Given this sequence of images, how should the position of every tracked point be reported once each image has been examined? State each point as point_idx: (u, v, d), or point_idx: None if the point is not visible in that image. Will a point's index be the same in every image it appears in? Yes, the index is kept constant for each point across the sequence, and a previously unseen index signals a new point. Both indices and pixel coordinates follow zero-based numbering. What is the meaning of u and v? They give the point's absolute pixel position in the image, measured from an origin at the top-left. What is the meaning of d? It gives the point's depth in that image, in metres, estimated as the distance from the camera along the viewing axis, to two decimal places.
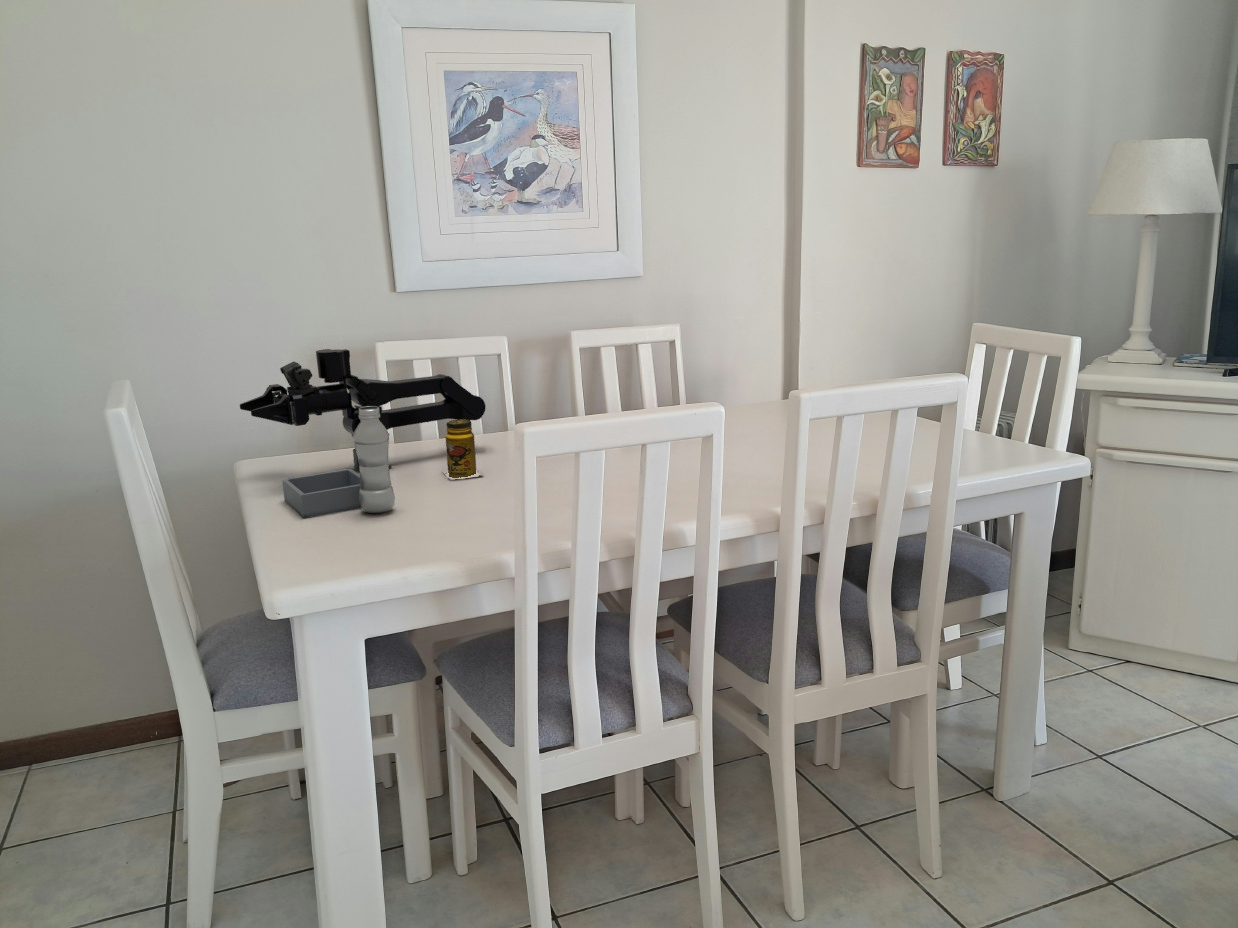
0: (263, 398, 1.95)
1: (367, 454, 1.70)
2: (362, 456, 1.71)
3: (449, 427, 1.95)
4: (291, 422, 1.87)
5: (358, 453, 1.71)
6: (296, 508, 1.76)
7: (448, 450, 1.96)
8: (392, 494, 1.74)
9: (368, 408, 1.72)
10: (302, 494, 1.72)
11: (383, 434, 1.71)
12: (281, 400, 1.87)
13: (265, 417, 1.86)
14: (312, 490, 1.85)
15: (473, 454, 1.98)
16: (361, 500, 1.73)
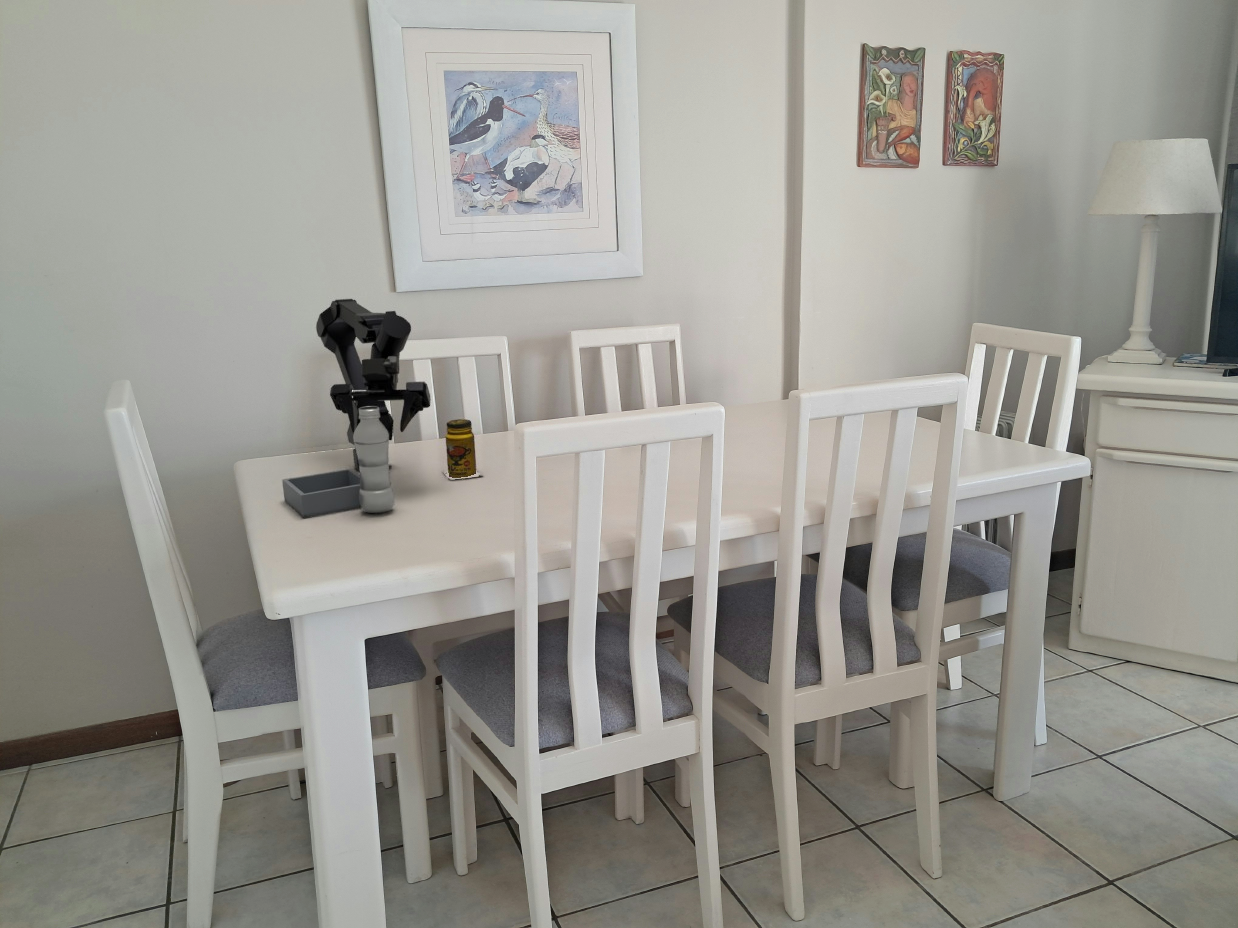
0: (353, 408, 1.81)
1: (367, 454, 1.70)
2: (362, 456, 1.71)
3: (449, 427, 1.95)
4: None
5: (358, 453, 1.71)
6: (296, 508, 1.76)
7: (448, 450, 1.96)
8: (392, 494, 1.74)
9: (368, 408, 1.72)
10: (302, 494, 1.72)
11: (383, 434, 1.71)
12: (408, 400, 1.81)
13: (407, 423, 1.82)
14: (312, 490, 1.85)
15: (473, 454, 1.98)
16: (361, 500, 1.73)
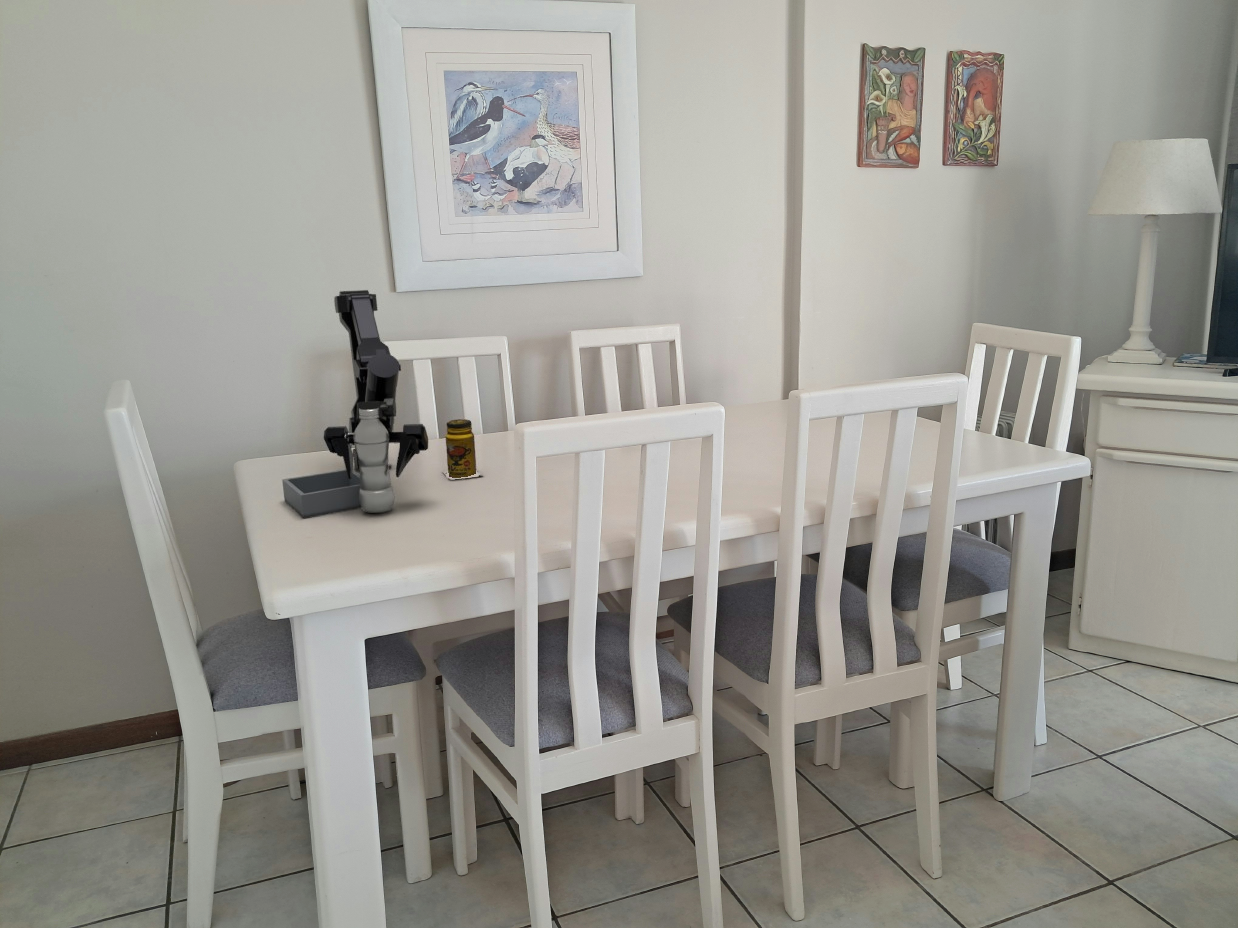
0: (349, 451, 1.74)
1: (367, 454, 1.70)
2: (362, 456, 1.71)
3: (449, 427, 1.95)
4: (419, 451, 1.78)
5: (358, 453, 1.71)
6: (296, 508, 1.76)
7: (448, 450, 1.96)
8: (392, 494, 1.74)
9: None
10: (302, 494, 1.72)
11: (383, 434, 1.71)
12: (404, 444, 1.74)
13: (403, 467, 1.75)
14: (312, 490, 1.85)
15: (473, 454, 1.98)
16: (361, 500, 1.73)
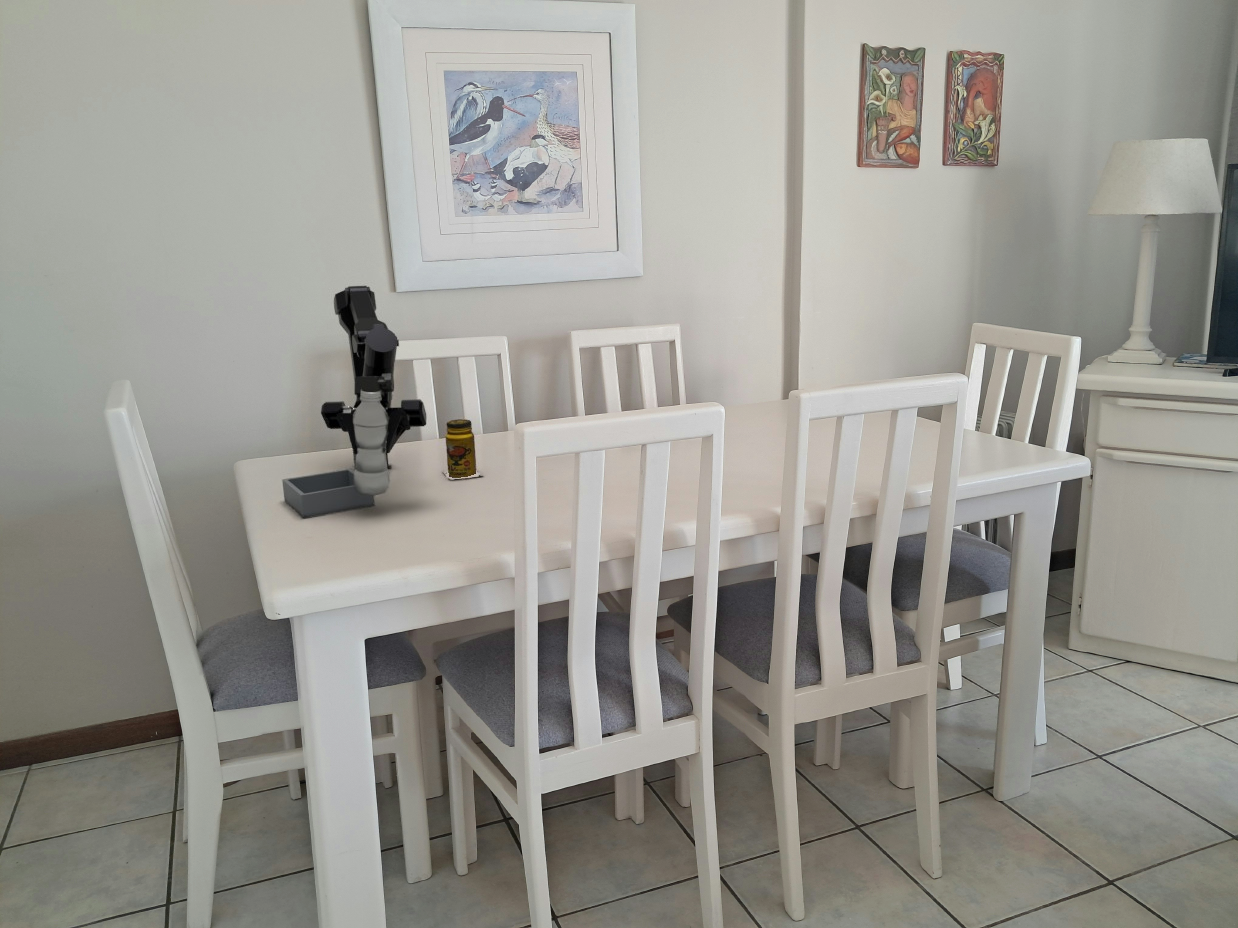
0: None
1: (366, 436, 1.69)
2: (361, 438, 1.69)
3: (449, 427, 1.95)
4: (410, 427, 1.77)
5: (357, 435, 1.70)
6: (296, 508, 1.76)
7: (448, 450, 1.96)
8: (387, 477, 1.74)
9: None
10: (302, 494, 1.72)
11: (384, 418, 1.69)
12: (395, 419, 1.73)
13: (394, 443, 1.74)
14: (312, 490, 1.85)
15: (473, 454, 1.98)
16: (356, 481, 1.72)
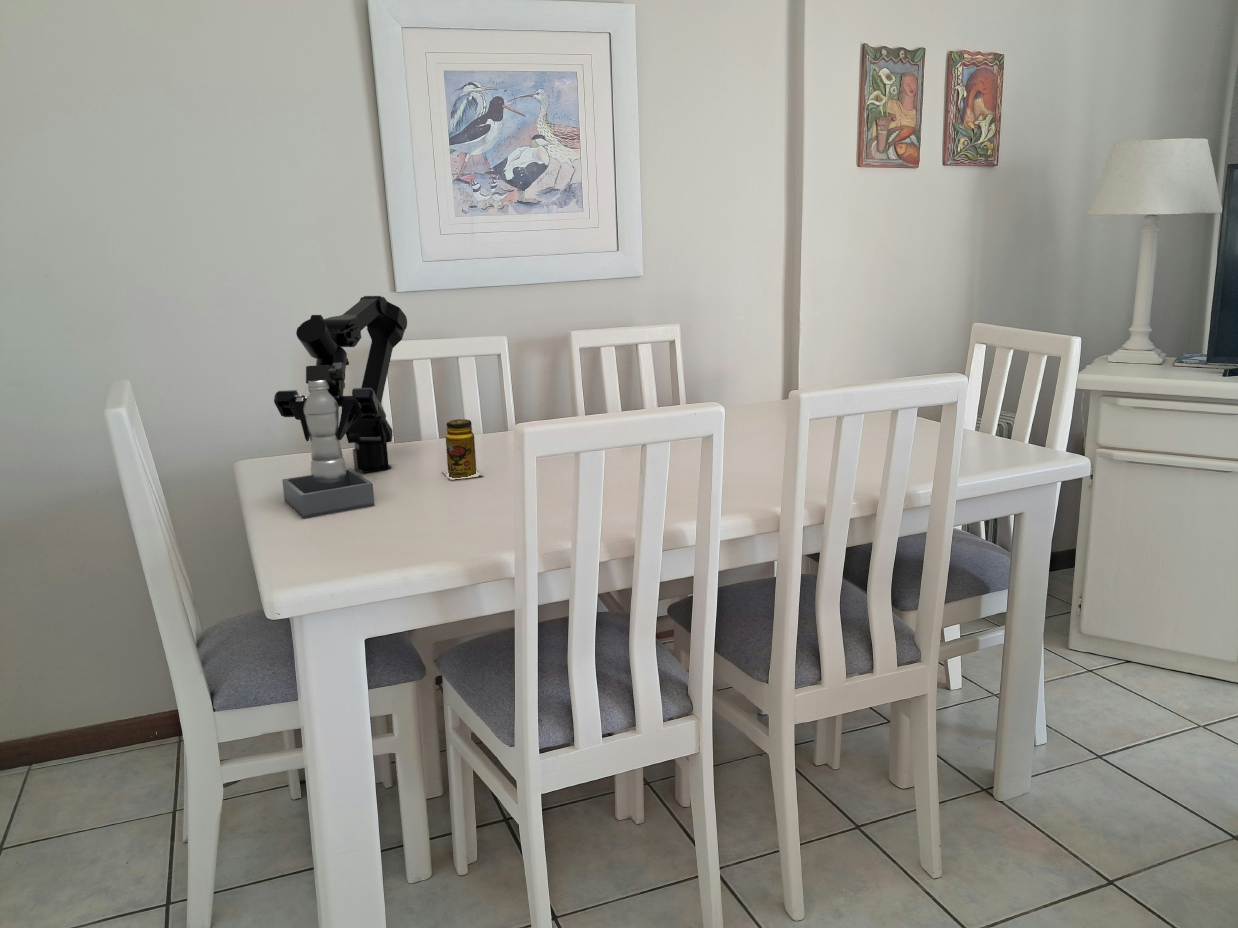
0: None
1: (318, 424, 1.74)
2: (313, 427, 1.75)
3: (449, 427, 1.95)
4: (362, 415, 1.83)
5: (309, 424, 1.75)
6: (296, 508, 1.76)
7: (448, 450, 1.96)
8: (344, 464, 1.78)
9: None
10: (302, 494, 1.72)
11: (333, 405, 1.75)
12: (347, 407, 1.78)
13: (346, 431, 1.79)
14: (312, 490, 1.85)
15: (473, 454, 1.98)
16: (313, 471, 1.76)
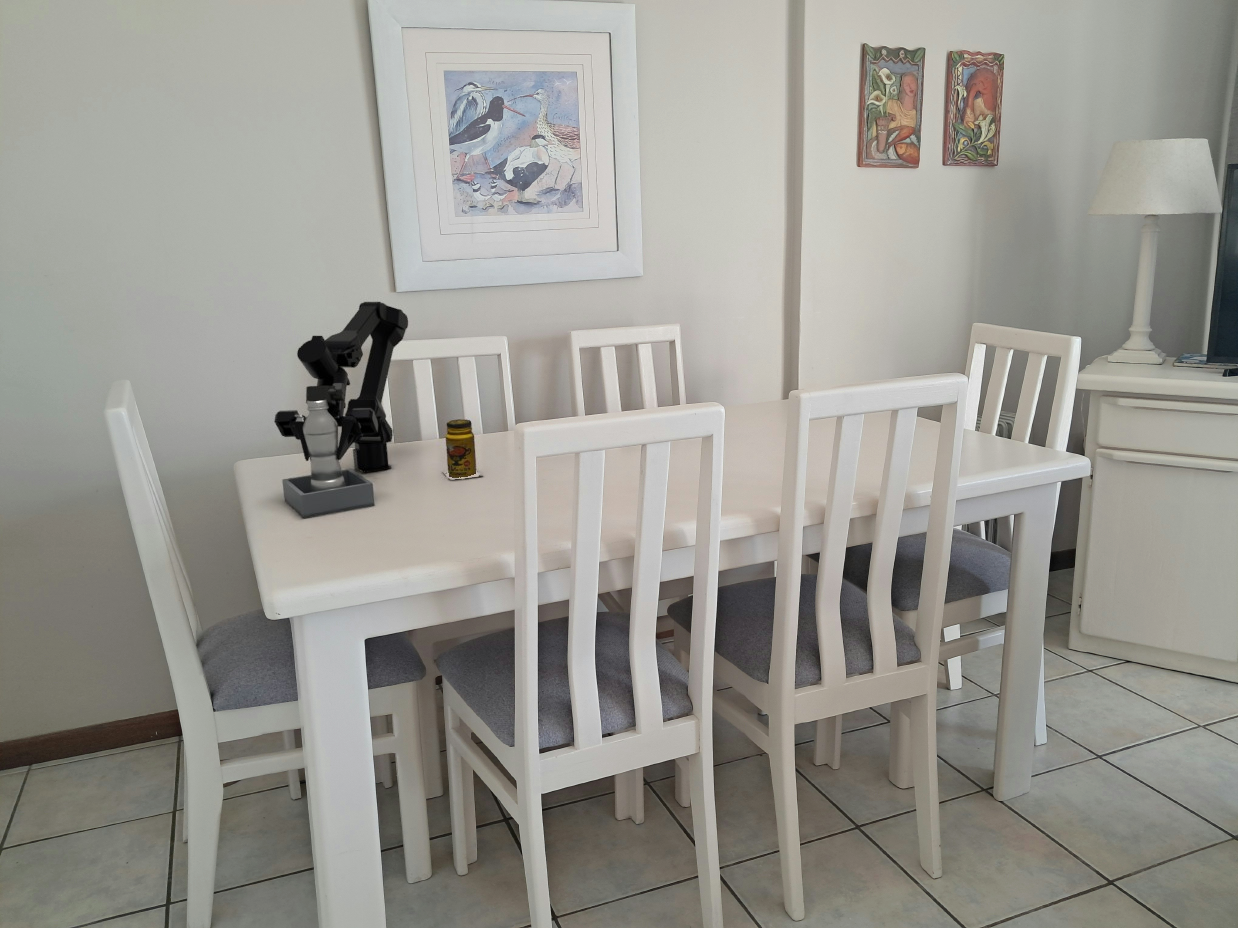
0: None
1: (317, 444, 1.75)
2: (312, 446, 1.76)
3: (449, 427, 1.95)
4: (362, 435, 1.84)
5: (308, 444, 1.76)
6: (296, 508, 1.76)
7: (448, 450, 1.96)
8: (343, 483, 1.79)
9: None
10: (302, 494, 1.72)
11: (332, 424, 1.76)
12: (346, 427, 1.79)
13: (346, 450, 1.80)
14: None
15: (473, 454, 1.98)
16: (313, 490, 1.78)
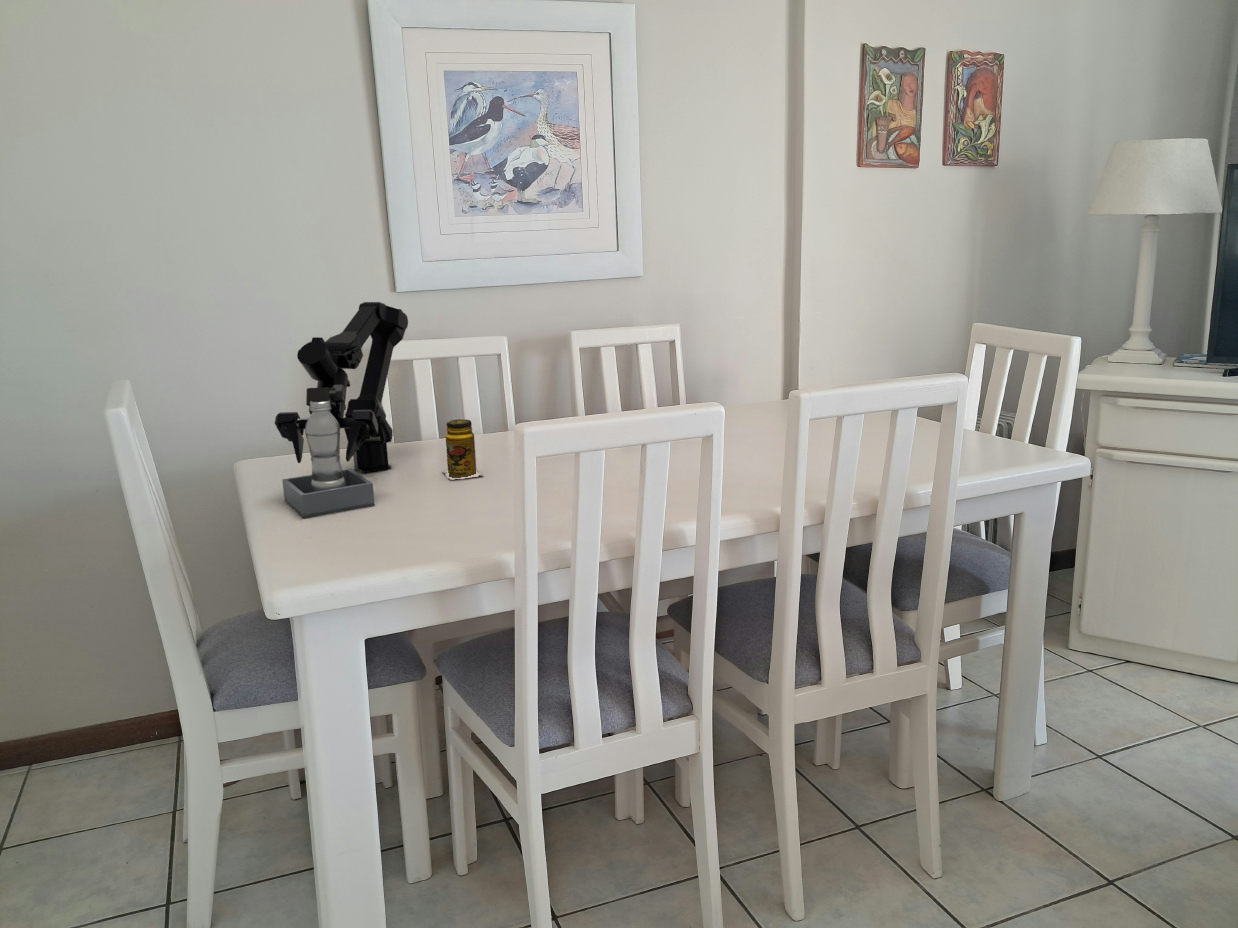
0: (298, 436, 1.79)
1: (319, 445, 1.75)
2: (314, 447, 1.75)
3: (449, 427, 1.95)
4: (370, 436, 1.84)
5: (310, 444, 1.76)
6: (296, 508, 1.76)
7: (448, 450, 1.96)
8: (344, 484, 1.79)
9: None
10: (302, 494, 1.72)
11: (334, 426, 1.76)
12: (355, 429, 1.79)
13: (354, 452, 1.80)
14: None
15: (473, 454, 1.98)
16: (313, 490, 1.77)
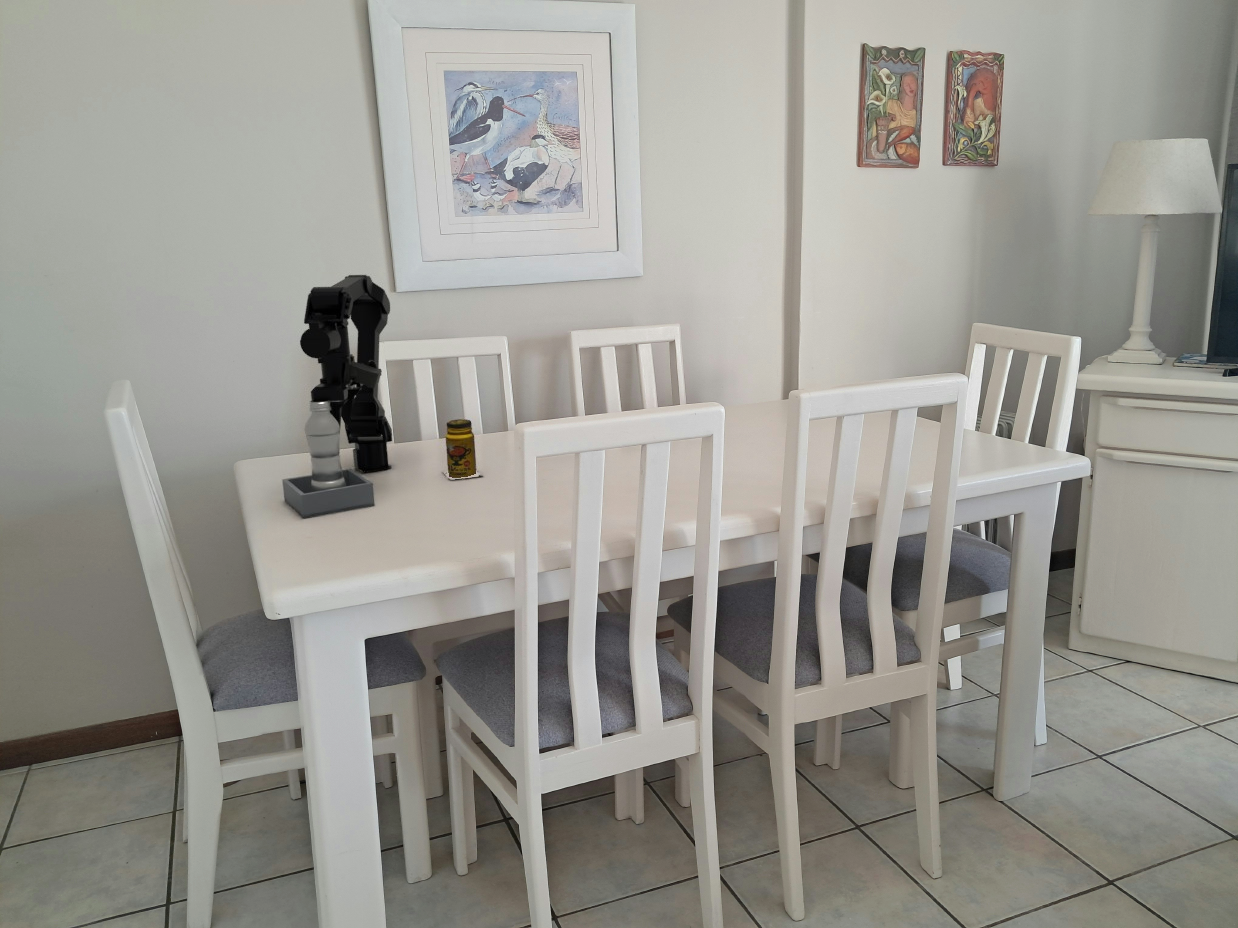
0: None
1: (319, 445, 1.75)
2: (314, 447, 1.75)
3: (449, 427, 1.95)
4: None
5: (310, 445, 1.76)
6: (296, 508, 1.76)
7: (448, 450, 1.96)
8: (344, 484, 1.79)
9: (319, 401, 1.77)
10: (302, 494, 1.72)
11: (334, 426, 1.75)
12: None
13: None
14: None
15: (473, 454, 1.98)
16: (313, 491, 1.77)
